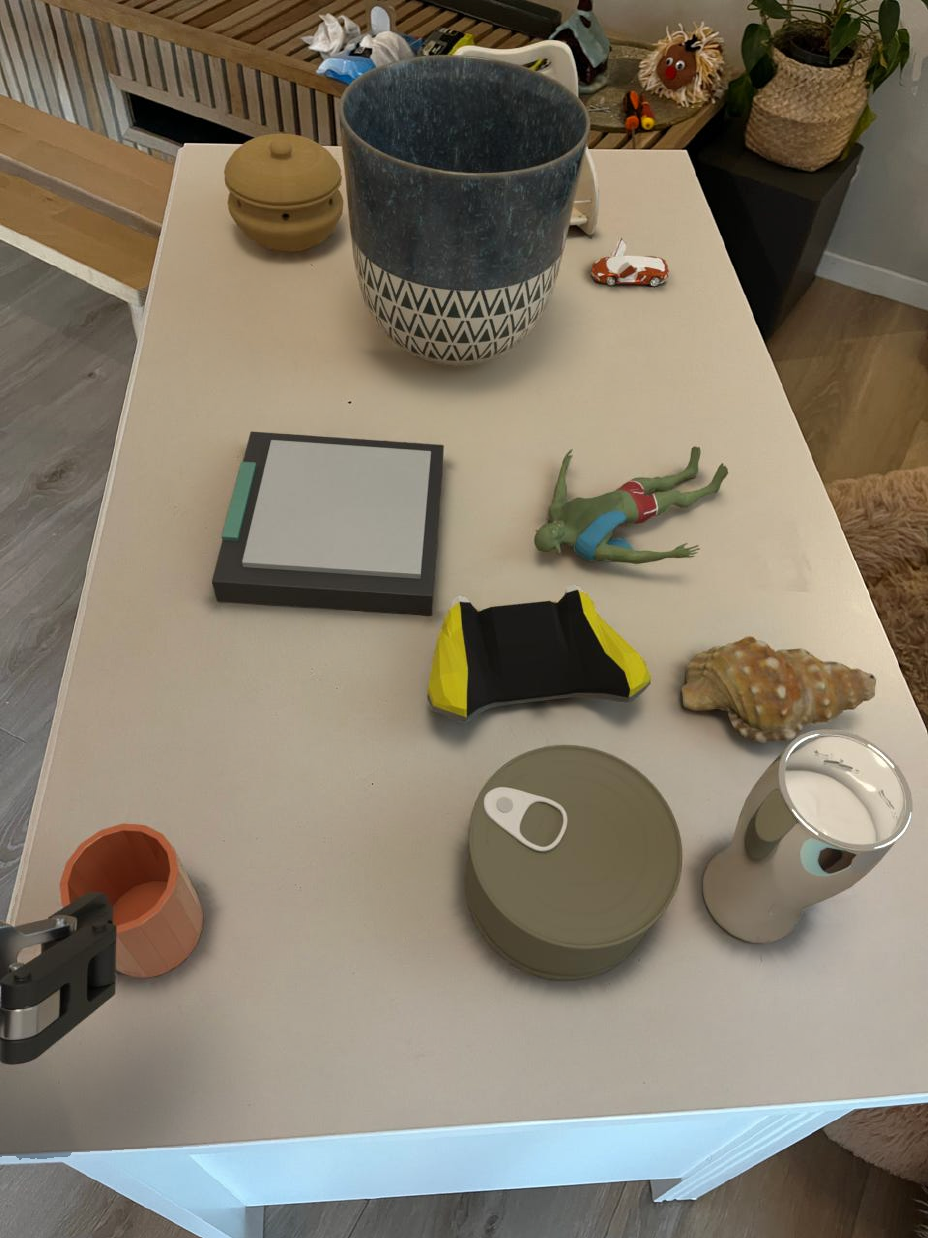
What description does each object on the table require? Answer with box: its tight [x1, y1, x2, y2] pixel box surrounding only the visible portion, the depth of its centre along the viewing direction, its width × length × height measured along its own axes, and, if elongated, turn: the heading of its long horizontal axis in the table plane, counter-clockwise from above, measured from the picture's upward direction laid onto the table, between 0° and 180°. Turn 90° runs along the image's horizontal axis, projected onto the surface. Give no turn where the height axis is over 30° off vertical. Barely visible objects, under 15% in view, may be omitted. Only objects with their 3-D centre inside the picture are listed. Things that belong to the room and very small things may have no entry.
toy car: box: [590, 237, 669, 288], centre depth 95 cm, size 5×8×3 cm, turn 92°
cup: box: [59, 823, 204, 979], centre depth 50 cm, size 6×6×8 cm
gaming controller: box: [426, 583, 652, 723], centre depth 63 cm, size 15×6×10 cm
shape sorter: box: [452, 39, 600, 235], centre depth 94 cm, size 20×10×18 cm, turn 104°
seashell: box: [680, 635, 877, 743], centre depth 63 cm, size 9×8×10 cm
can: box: [464, 744, 683, 981], centre depth 54 cm, size 12×12×7 cm
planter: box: [338, 54, 591, 367], centre depth 79 cm, size 20×20×21 cm
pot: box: [223, 133, 344, 252], centre depth 93 cm, size 12×12×10 cm
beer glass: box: [701, 728, 914, 945], centre depth 51 cm, size 7×7×15 cm
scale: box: [211, 431, 445, 616], centre depth 72 cm, size 16×16×3 cm
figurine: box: [533, 445, 729, 565], centre depth 74 cm, size 16×4×18 cm
